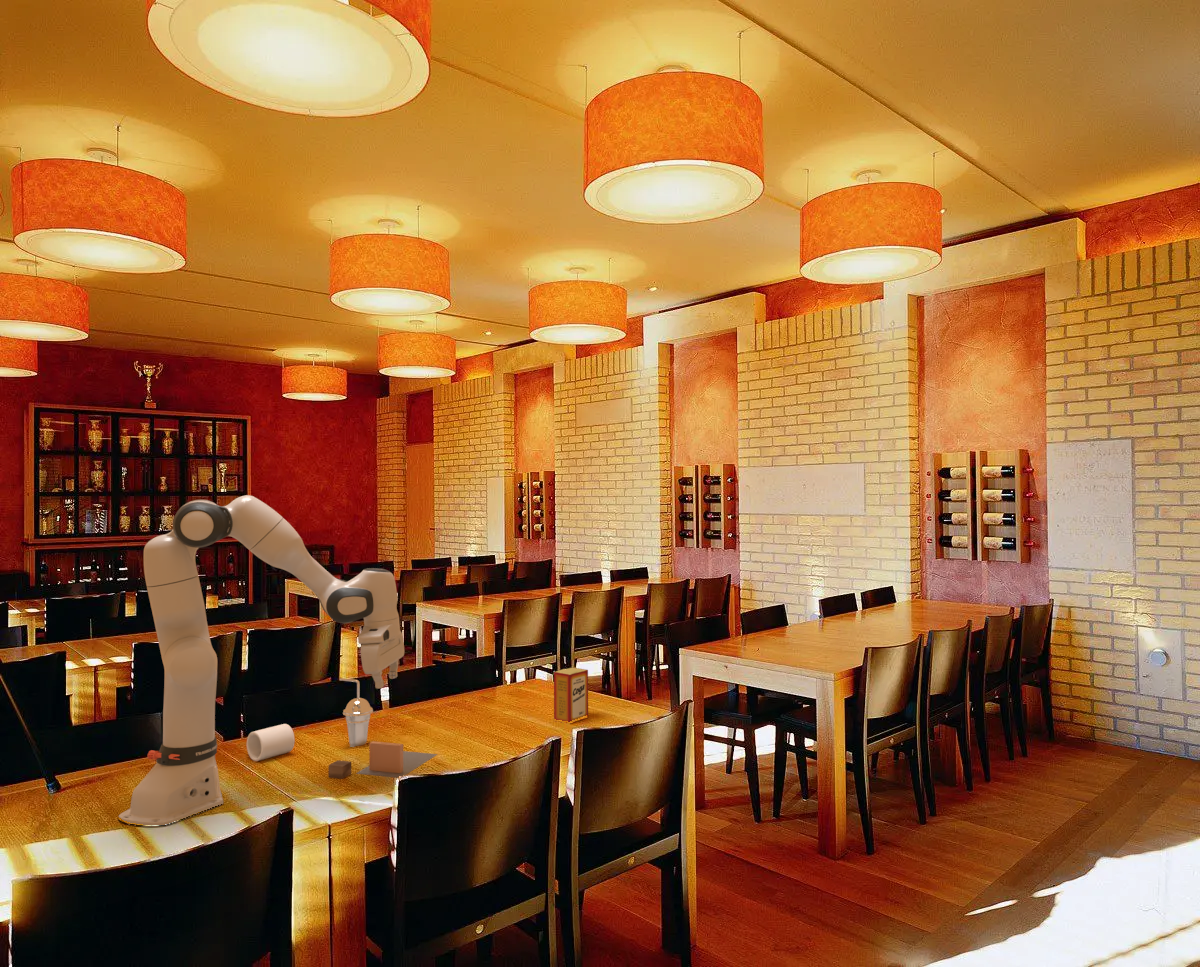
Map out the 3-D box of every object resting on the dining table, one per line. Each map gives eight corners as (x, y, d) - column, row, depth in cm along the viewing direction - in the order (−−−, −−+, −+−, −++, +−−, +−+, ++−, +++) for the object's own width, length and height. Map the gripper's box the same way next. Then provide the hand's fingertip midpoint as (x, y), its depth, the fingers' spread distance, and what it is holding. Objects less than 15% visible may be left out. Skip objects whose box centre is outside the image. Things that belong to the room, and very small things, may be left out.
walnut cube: (342, 782, 207) (342, 766, 207) (328, 780, 208) (328, 765, 208) (351, 777, 210) (351, 761, 210) (337, 775, 211) (337, 760, 212)
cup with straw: (364, 751, 232) (364, 680, 232) (335, 749, 233) (335, 679, 234) (378, 742, 240) (378, 674, 240) (350, 740, 242) (350, 673, 242)
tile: (400, 773, 211) (400, 745, 211) (369, 770, 213) (369, 743, 213) (403, 770, 212) (403, 743, 212) (373, 767, 215) (373, 741, 215)
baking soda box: (572, 714, 270) (572, 666, 271) (588, 717, 266) (587, 668, 267) (554, 720, 263) (553, 671, 263) (569, 724, 259) (569, 673, 259)
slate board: (400, 781, 207) (400, 777, 207) (355, 776, 211) (355, 773, 211) (437, 757, 226) (437, 754, 226) (396, 753, 230) (396, 750, 230)
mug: (295, 754, 229) (295, 725, 230) (262, 763, 221) (262, 734, 221) (270, 747, 236) (270, 719, 237) (238, 755, 228) (238, 727, 229)
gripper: (385, 622, 222) (389, 673, 222) (354, 638, 202) (359, 694, 202) (407, 621, 221) (412, 672, 222) (379, 637, 201) (383, 692, 201)
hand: (386, 682), depth 212 cm, fingers open, 8 cm apart
